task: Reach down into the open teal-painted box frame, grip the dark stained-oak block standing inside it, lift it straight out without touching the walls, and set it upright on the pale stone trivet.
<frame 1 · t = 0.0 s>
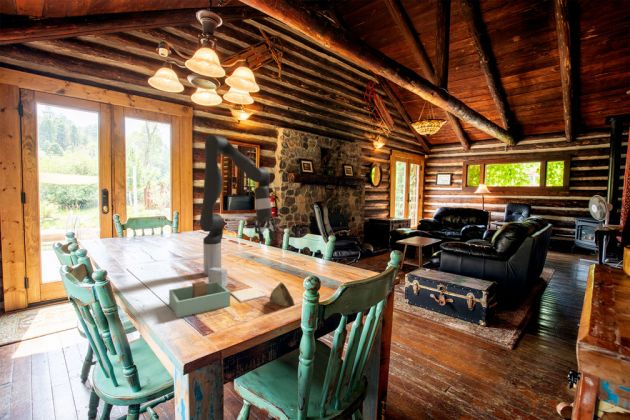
hand: (266, 240, 142), 22 cm above the table, tool pointing down, fingers open, 8 cm apart
trivet: (248, 294, 129), on the table
rock: (281, 303, 121), on the table
oak block: (199, 305, 117), resting in box frame
medicine box: (217, 287, 139), on the table
box frame: (199, 304, 117), on the table
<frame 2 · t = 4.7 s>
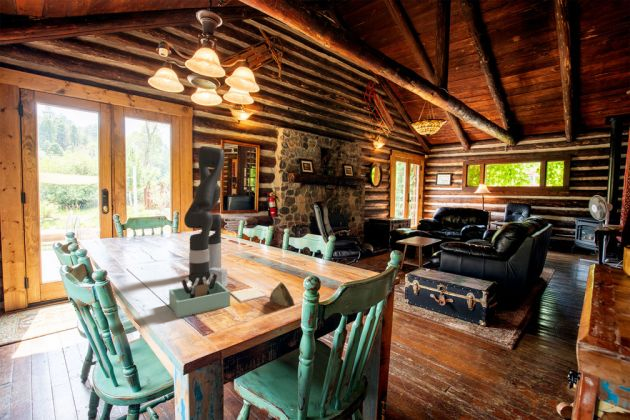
hand: (199, 300, 117), 2 cm above the table, tool pointing down, fingers closed on oak block, 4 cm apart
oak block: (199, 305, 117), resting in box frame, touching gripper
everything else where it was.
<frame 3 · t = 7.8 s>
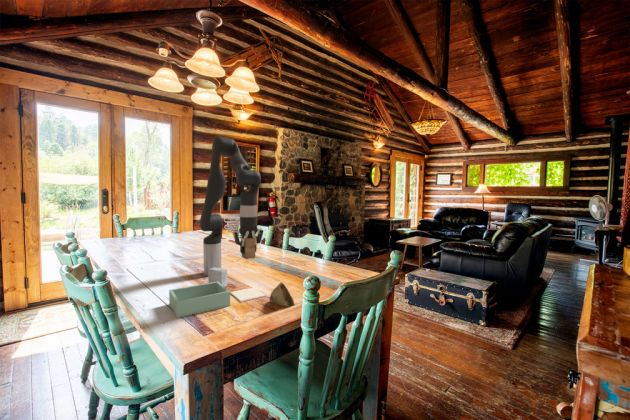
hand: (248, 253, 128), 19 cm above the table, tool pointing down, fingers closed on oak block, 4 cm apart
oak block: (248, 257, 128), point 17 cm above the table, touching gripper
everything else where it was.
when the fingers open (4 cm above the table, at t = 11.0 s): oak block drops 1 cm, resting on trivet.
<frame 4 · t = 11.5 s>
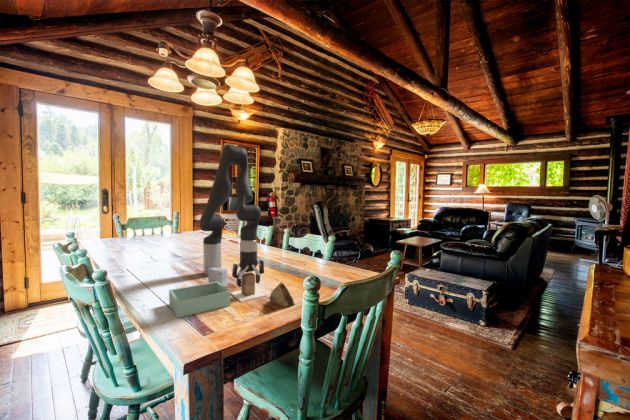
hand: (248, 284, 129), 5 cm above the table, tool pointing down, fingers open, 8 cm apart
oak block: (248, 293, 129), point 1 cm above the table, touching trivet
everything else where it was.
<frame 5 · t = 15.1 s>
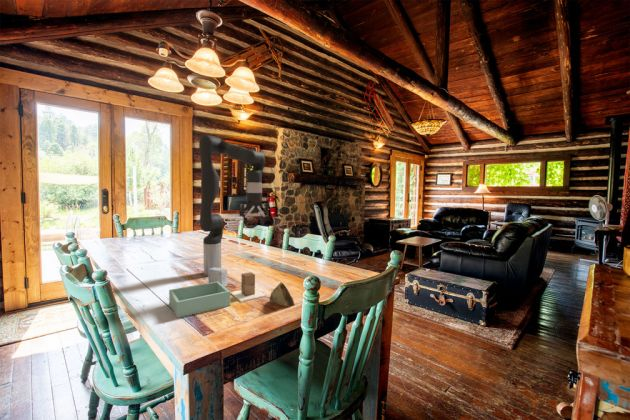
hand: (254, 224, 141), 30 cm above the table, tool pointing down, fingers open, 8 cm apart
nothing on the table moved.
at the end: oak block inside the target area on the trivet (0.2 cm from its centre), point 0.6 cm above the trivet's base; oak block tilted 0°; the gripper is holding nothing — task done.
